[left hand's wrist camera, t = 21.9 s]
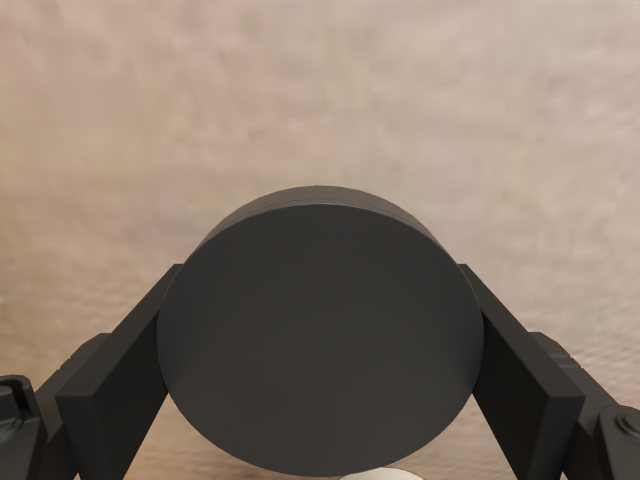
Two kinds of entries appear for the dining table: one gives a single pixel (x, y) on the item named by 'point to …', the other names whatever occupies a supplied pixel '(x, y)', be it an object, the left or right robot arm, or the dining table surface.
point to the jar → (383, 475)
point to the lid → (320, 334)
